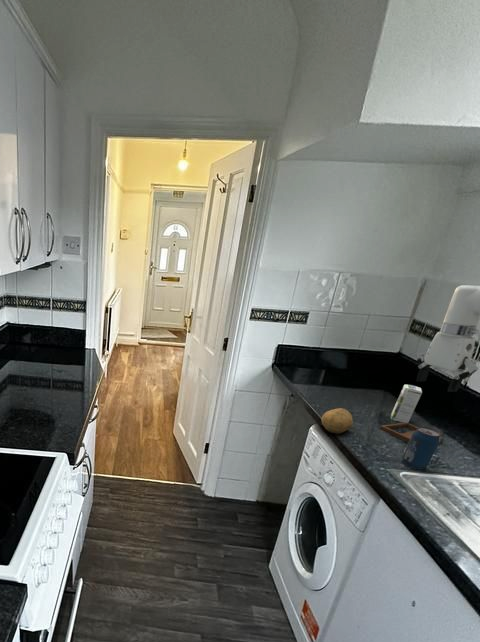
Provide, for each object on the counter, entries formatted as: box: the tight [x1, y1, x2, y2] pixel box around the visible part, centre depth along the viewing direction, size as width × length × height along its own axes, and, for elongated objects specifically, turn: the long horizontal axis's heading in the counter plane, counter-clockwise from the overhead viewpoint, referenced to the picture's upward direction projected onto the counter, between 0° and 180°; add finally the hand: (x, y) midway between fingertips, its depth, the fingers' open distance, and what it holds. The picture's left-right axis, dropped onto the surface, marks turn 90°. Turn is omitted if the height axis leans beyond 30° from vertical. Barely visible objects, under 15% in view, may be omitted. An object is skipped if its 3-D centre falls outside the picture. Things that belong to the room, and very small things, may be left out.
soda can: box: [401, 426, 441, 470], centre depth 129 cm, size 7×7×12 cm
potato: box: [321, 407, 354, 435], centre depth 151 cm, size 10×14×8 cm
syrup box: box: [390, 384, 423, 423], centre depth 162 cm, size 6×6×14 cm
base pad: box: [379, 422, 444, 444], centre depth 151 cm, size 14×14×2 cm
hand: (435, 386), depth 126 cm, fingers open, 9 cm apart
